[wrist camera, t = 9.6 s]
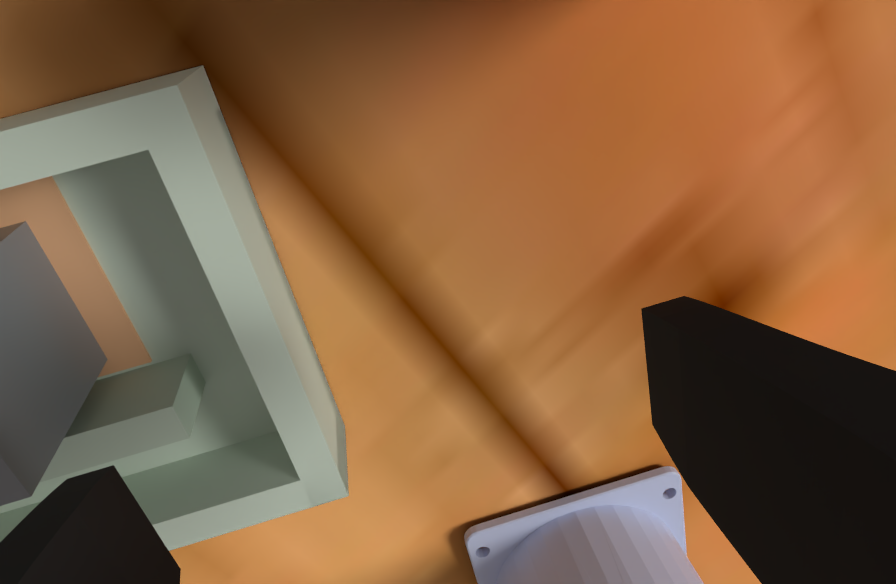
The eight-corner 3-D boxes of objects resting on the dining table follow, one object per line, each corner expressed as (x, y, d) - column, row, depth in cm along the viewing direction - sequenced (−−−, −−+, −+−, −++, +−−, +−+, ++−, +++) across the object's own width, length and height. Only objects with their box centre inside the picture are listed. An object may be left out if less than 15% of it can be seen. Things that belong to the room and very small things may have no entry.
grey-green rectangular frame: (345, 426, 20) (348, 495, 17) (-108, 561, 19) (-177, 656, 16) (203, 64, 15) (176, 84, 12) (-424, 231, 14) (-598, 290, 11)
